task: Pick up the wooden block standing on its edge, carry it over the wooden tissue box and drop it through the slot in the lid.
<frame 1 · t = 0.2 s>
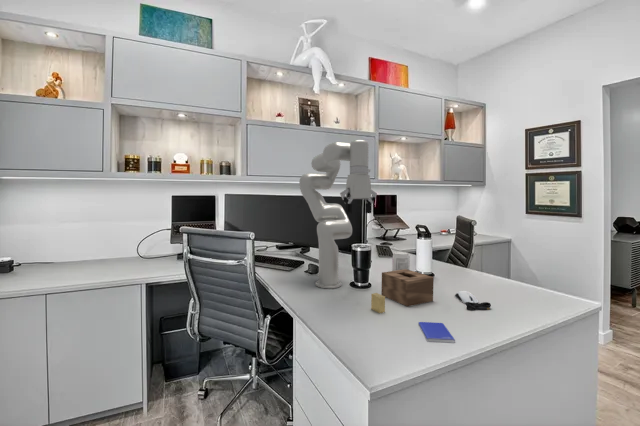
hand: (358, 213, 130), 36 cm above the table, tool pointing down, fingers open, 9 cm apart
wooden tissue box: (406, 298, 135), on the table
computer mouse: (468, 303, 130), on the table
supplement can: (400, 283, 158), on the table
hard drive: (435, 335, 101), on the table
wooden block: (377, 310, 120), on the table
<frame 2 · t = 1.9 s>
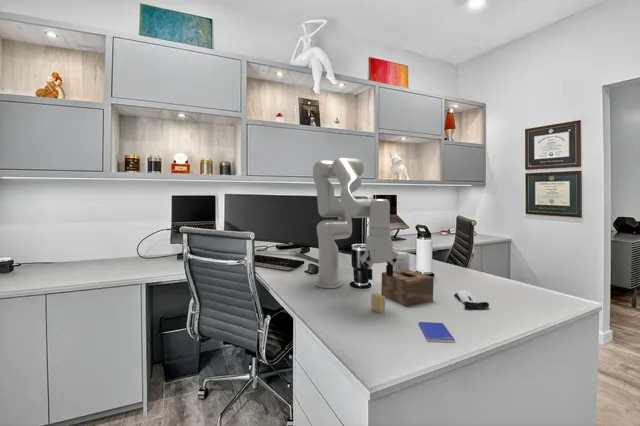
hand: (379, 277, 119), 13 cm above the table, tool pointing down, fingers open, 9 cm apart
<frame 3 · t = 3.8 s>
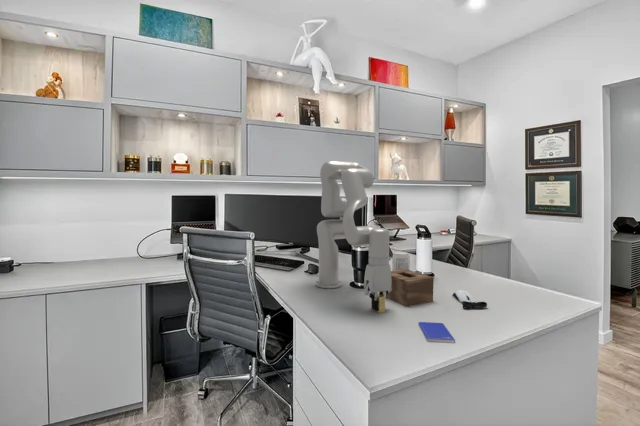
hand: (378, 308, 120), 1 cm above the table, tool pointing down, fingers closed on wooden block, 2 cm apart
wooden block: (377, 310, 120), on the table, touching gripper
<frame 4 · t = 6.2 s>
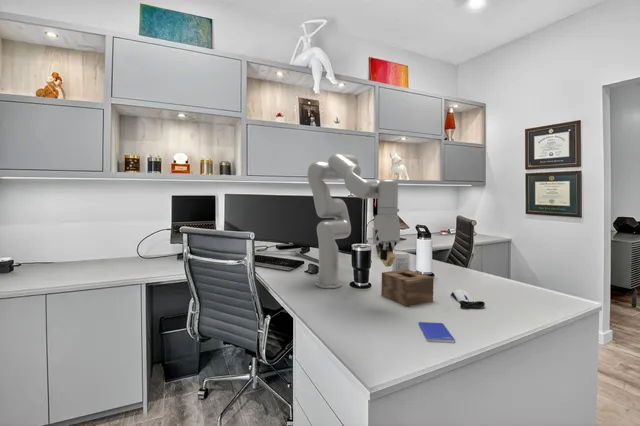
hand: (386, 258, 123), 19 cm above the table, tool pointing down, fingers closed on wooden block
wooden block: (390, 261, 120), point 18 cm above the table, tilted 57°, touching gripper
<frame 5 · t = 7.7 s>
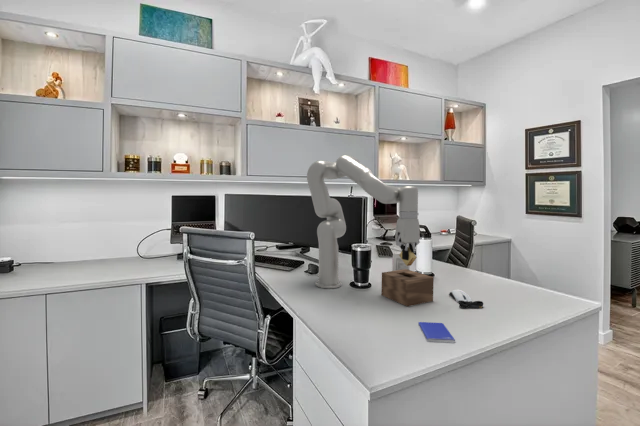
hand: (407, 258, 134), 17 cm above the table, tool pointing down, fingers closed on wooden block
wooden block: (411, 261, 132), point 16 cm above the table, tilted 52°, touching gripper
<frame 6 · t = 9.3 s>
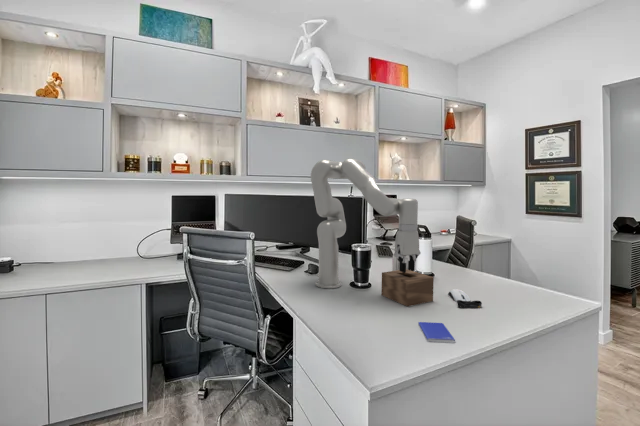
hand: (407, 270, 134), 12 cm above the table, tool pointing down, fingers open, 4 cm apart
wooden block: (411, 285, 132), point 6 cm above the table, tilted 103°
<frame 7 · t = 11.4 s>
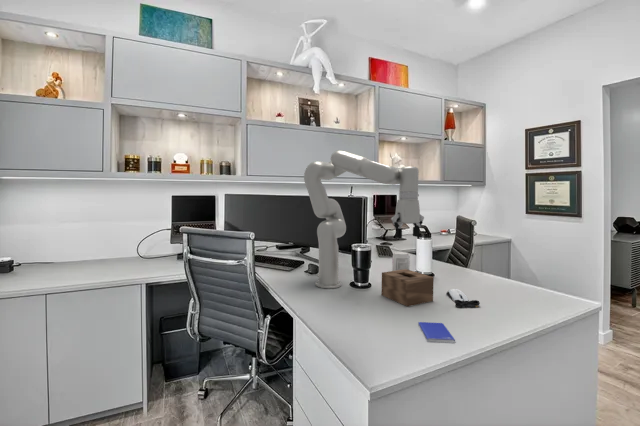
hand: (407, 237, 133), 26 cm above the table, tool pointing down, fingers open, 9 cm apart
wooden block: (415, 293, 132), point 3 cm above the table, tilted 90°, touching wooden tissue box
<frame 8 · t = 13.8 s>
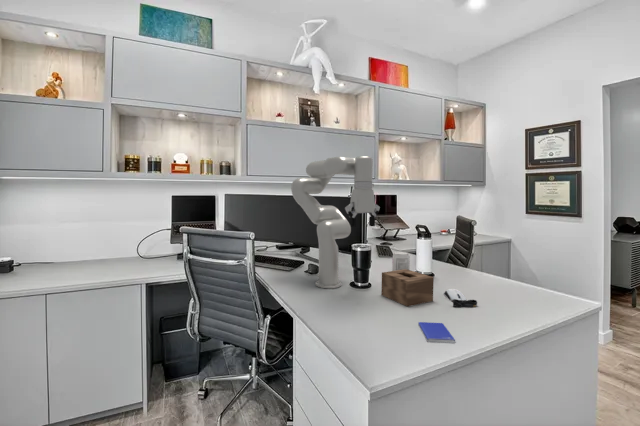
hand: (362, 226, 134), 30 cm above the table, tool pointing down, fingers open, 9 cm apart
at the end: wooden block inside the target area on the wooden tissue box (4.2 cm from its centre), point 3.0 cm above the wooden tissue box's base; the gripper is holding nothing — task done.
